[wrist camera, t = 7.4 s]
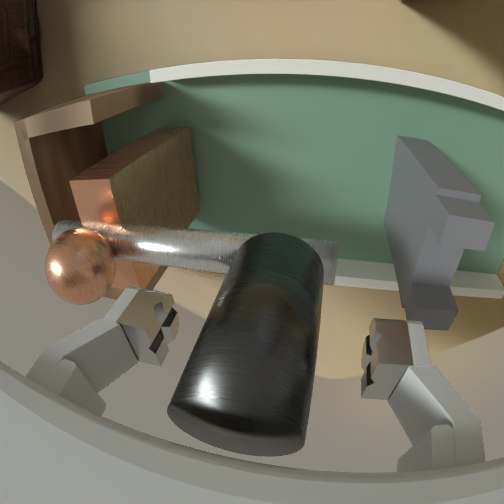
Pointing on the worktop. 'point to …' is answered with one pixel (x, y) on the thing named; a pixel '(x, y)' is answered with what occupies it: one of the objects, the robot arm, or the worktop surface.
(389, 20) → the worktop surface
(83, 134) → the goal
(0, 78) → the manual coffee grinder
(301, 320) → the black head mallet
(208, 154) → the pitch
